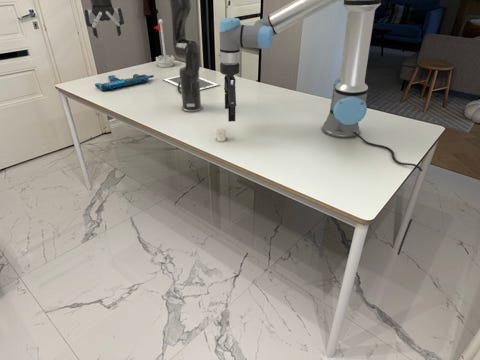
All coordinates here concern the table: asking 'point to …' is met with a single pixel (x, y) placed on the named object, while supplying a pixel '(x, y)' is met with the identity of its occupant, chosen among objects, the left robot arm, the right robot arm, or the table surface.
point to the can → (221, 134)
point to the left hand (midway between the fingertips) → (108, 36)
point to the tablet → (203, 82)
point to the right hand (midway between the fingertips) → (229, 114)
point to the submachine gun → (122, 81)
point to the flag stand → (165, 60)
